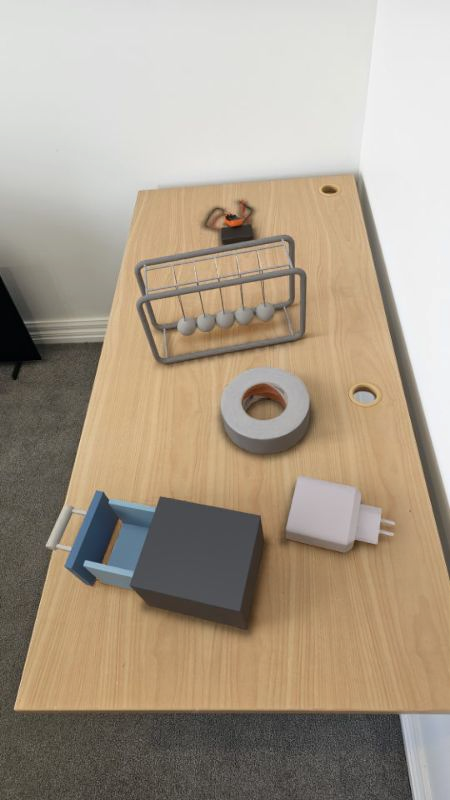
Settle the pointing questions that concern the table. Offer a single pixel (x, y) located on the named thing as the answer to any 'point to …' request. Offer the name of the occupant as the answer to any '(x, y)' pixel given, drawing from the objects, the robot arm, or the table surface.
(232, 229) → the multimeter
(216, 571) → the cabinet
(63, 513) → the drawer
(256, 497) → the table surface
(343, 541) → the charger
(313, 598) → the table surface
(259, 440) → the tape roll
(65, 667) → the table surface
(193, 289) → the newton's cradle
